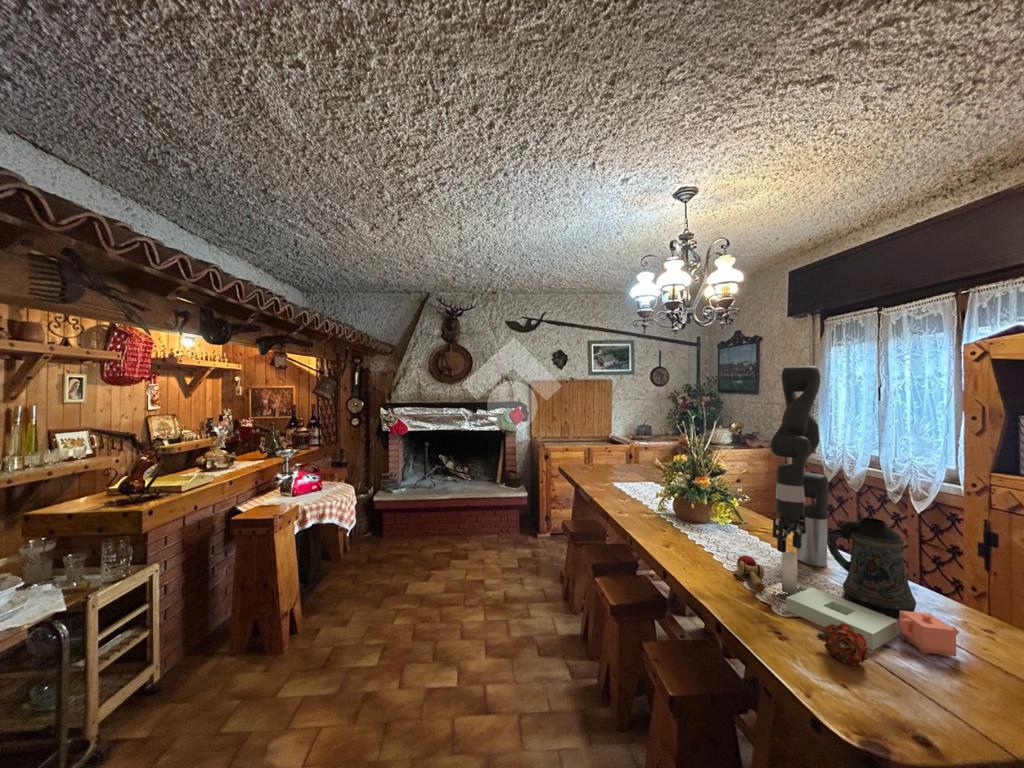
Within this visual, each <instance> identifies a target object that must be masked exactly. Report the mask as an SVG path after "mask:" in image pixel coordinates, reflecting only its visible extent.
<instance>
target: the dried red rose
mask: <svg viewBox="0 0 1024 768" xmlns="http://www.w3.org/2000/svg"><path fill="white" fill-rule="evenodd" d="M821 632H824V633H820V632H818V633H817V639H819V640H820V641H823V642H824V643H825V644H824V648H825V649H826V651H827V652H828V653H829V654H831V655H832V656H834V657H836V658H837V659H838V660H839V661H840V662H841V663H845V664H846V665H853V666H857V665H860V663H863V662H865V661H869V655H868V654H869V653H868V650H867V649H868V648H866V644H867V643H866V640H865V639H864V637H863V636H862V635H861V634H860V633H856V632H855V631H854V629H853V628H852V627H851V626H849V625H847V624H845V623H841V624H840V625H834V624H830V625H827V626H826V628H825V627H824V628H823V629H821Z"/></svg>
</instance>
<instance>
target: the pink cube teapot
mask: <svg viewBox="0 0 1024 768" xmlns="http://www.w3.org/2000/svg"><path fill="white" fill-rule="evenodd" d="M898 619H899V620H898V624H899V634H900V635H901V636H902V637H903V638H904V639H906V642H907V644H910V645H913V646H915V647H916V648H917V649H918V652H919V653H921V654H924V655H929V654H935V655H939V656H942V657H945V658H947V657H949V656H950V657H957V635H958V634H960V631H959V630H958V629H957V628H956V627H955V626H949V625H948V624H946V622H943V620H941V619H939V618H937V617H936V616H934V614H932V613H928V612H917V611H914V612H910V611H901V610H900V618H898Z"/></svg>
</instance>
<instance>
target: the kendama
mask: <svg viewBox="0 0 1024 768" xmlns="http://www.w3.org/2000/svg"><path fill="white" fill-rule="evenodd" d="M736 564H737V573H738V575H740V576H744V575H749V577H750V579H751V582H752V585H753V588H754V590H755V591H757V592H759V593H761V592H765V591H764V589H765V587H766V586H765V584H764V583H763V582H762V580H763V579H764V575H765V570H764V569H765V568H764V566H763V564H757V562H756V560H755V559H754V558H753V557H752V556H751V555H750V556H749V555H744V554H743V555H741V556H739V557H738V559H737V561H736Z"/></svg>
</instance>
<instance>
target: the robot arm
mask: <svg viewBox="0 0 1024 768" xmlns="http://www.w3.org/2000/svg"><path fill="white" fill-rule="evenodd" d="M781 382H782V388H783V389H782V390H783V396H784V400H785V405H786V408H785V410H784V412H783V415H782V419H781V424H780V426H779V428H778V429H777V431H776V433H775V434H773V436H772V438H771V441H770V447H769V448H770V451H771V452H772V453H773V454H774V455H775V456H777V457H781V458H782V457H783V458H791V463H784V464H783V463H782V464H779V465H778V466H777V467H776V468H777V469H776V487H775V511H776V512H777V513H778V514H780V515H779V518H776V517H773V519H772V520H773V521H772V535H771V536H772V538H775V539H776V540H777V543H776V544H777V545H776V547H777V548H776V550H777V551H778V552H780V553H782V552H783V553H785V552H786V551H787V538H788V536H790V535H791V533H792V547H793V548H796V554H797V559H798V560H800V561H802V562H804V563H803V564H805V563H806V564H805V565H808V564H809V566H811V567H812V566H814V567H820V568H822V567H826V566H828V545H827V537H828V502H829V501H828V500H829V499H828V498H829V487H830V485H829V479H828V476H826V475H824V474H821V473H814V472H808V471H807V472H805V468H806V464H807V460H808V459H809V458H810V456H811V455H812V454H813V453H814V451H815V450H817V448H818V446H819V444H820V432H819V431H820V430H819V429H820V428H819V425H818V422H817V421H816V420H815V418H814V417H813V416H812V415H811V414H810V413H811V409H812V407H813V406H814V403H815V400H816V397H817V394H818V392H819V389H820V386H821V372H820V369H819V368H818V367H817V366H816V365H799V366H798V365H797V366H795V365H794V366H785V367H784V368H783V369H782V372H781ZM797 392H798V393H799V392H800V393H801V392H802V393H801V394H800V395H799V396H798V395H797ZM805 497H806V498H811V499H815V501H814V502H813V503H809V504H805ZM798 560H797V561H798ZM800 561H799V562H800ZM802 562H801V563H802Z"/></svg>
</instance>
